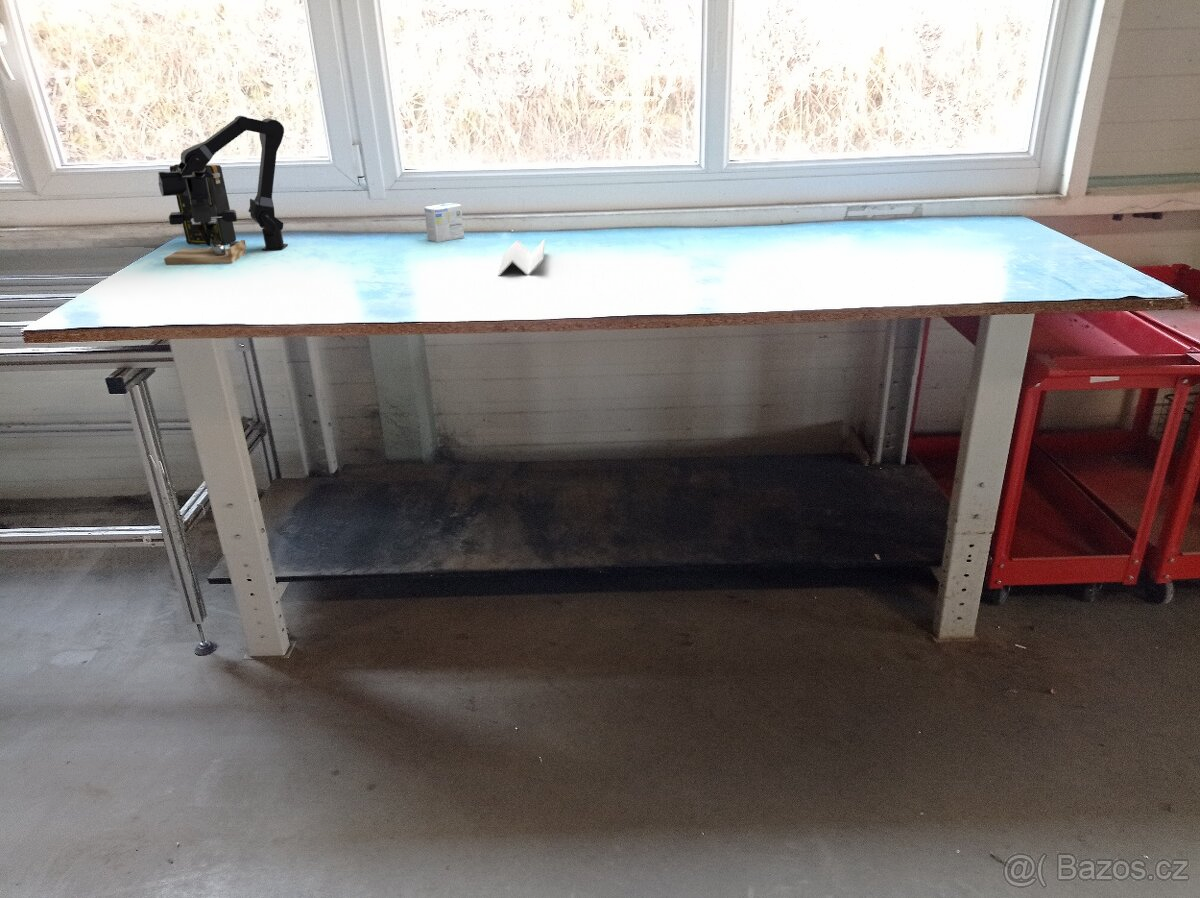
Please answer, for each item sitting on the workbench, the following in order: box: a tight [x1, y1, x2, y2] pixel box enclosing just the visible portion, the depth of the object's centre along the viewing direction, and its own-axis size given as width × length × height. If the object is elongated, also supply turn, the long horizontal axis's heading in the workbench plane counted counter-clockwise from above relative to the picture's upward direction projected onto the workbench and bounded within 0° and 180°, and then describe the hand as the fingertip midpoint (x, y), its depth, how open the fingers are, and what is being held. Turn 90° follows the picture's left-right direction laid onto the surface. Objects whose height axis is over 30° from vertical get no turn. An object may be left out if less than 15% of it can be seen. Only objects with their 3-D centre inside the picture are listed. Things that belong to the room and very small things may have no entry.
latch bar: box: [210, 240, 226, 255], centre depth 261 cm, size 11×3×3 cm, turn 30°
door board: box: [163, 239, 247, 266], centre depth 262 cm, size 12×20×4 cm, turn 91°
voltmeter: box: [169, 163, 237, 246], centre depth 278 cm, size 16×9×25 cm, turn 73°
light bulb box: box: [423, 202, 465, 243], centre depth 280 cm, size 11×7×11 cm, turn 130°
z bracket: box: [497, 238, 546, 277], centre depth 249 cm, size 12×25×6 cm
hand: (208, 245), depth 263 cm, fingers closed
